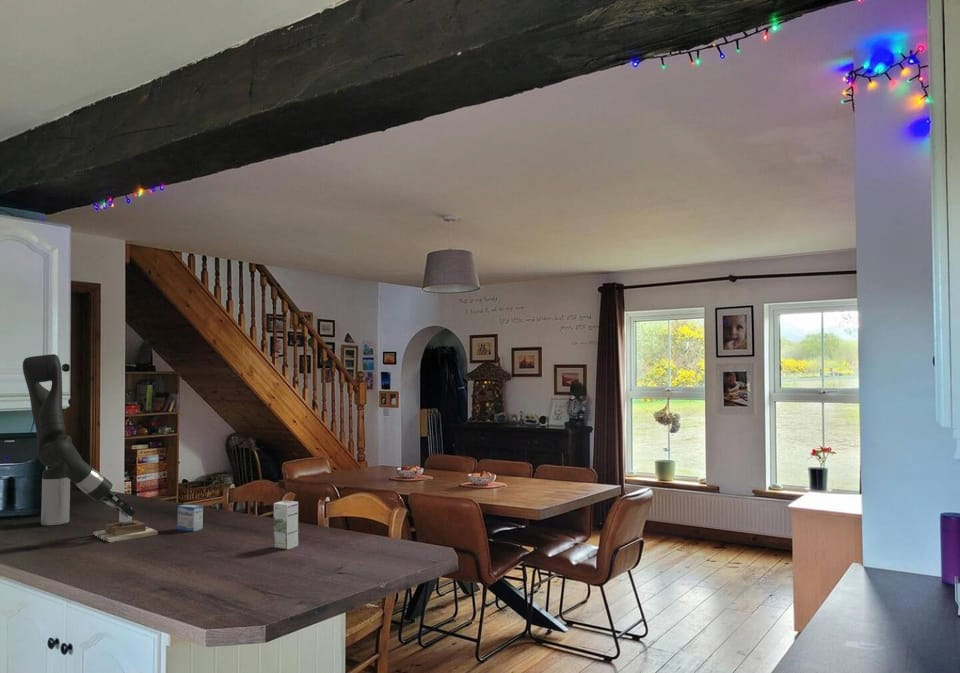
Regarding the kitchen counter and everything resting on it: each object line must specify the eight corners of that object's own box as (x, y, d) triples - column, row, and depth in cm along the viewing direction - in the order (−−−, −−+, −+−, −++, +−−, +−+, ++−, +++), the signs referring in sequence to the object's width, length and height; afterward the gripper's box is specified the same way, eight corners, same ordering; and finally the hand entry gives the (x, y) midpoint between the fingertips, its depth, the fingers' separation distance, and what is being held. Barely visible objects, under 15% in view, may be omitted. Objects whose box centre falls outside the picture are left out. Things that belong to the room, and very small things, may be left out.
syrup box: (298, 545, 226) (299, 501, 227) (286, 550, 220) (286, 504, 221) (285, 544, 228) (285, 499, 229) (272, 548, 223) (273, 502, 224)
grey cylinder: (117, 531, 243) (117, 508, 244) (129, 529, 246) (129, 506, 247) (121, 533, 241) (121, 510, 241) (133, 531, 244) (133, 508, 244)
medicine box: (176, 530, 250) (177, 506, 251) (186, 527, 255) (186, 503, 255) (193, 531, 247) (194, 507, 248) (203, 529, 252) (203, 505, 252)
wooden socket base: (92, 535, 243) (93, 524, 243) (140, 527, 255) (140, 517, 255) (108, 542, 232) (108, 531, 232) (157, 534, 244) (157, 523, 244)
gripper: (109, 477, 234) (144, 506, 242) (95, 473, 244) (129, 501, 252) (92, 495, 230) (127, 524, 238) (78, 490, 240) (113, 518, 247)
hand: (128, 512), depth 245 cm, fingers open, 8 cm apart
